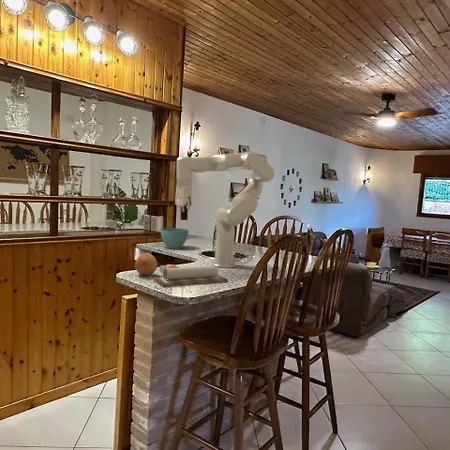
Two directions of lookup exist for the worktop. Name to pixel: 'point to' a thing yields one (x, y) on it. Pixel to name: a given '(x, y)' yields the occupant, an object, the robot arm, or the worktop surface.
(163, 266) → the button housing
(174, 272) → the tube
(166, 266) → the button
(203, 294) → the worktop surface
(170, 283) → the board
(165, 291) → the worktop surface
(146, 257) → the onion
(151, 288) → the worktop surface
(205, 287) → the worktop surface
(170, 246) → the plant pot
